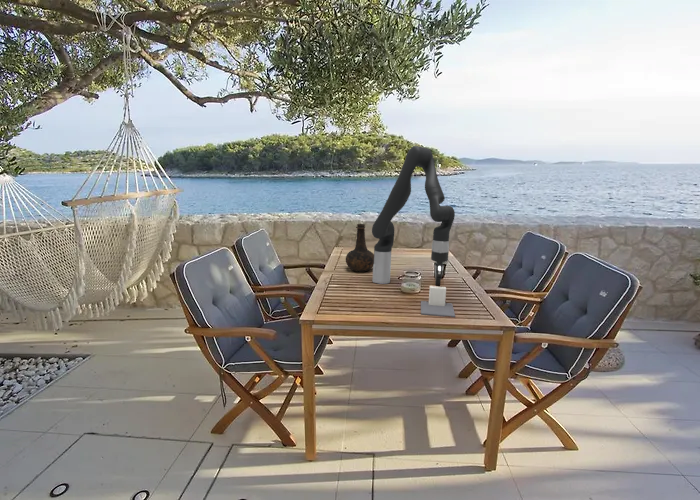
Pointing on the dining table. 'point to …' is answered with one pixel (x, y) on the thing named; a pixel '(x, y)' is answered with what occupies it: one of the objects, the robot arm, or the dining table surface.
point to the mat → (437, 309)
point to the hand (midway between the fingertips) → (437, 286)
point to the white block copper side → (437, 295)
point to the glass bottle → (360, 253)
